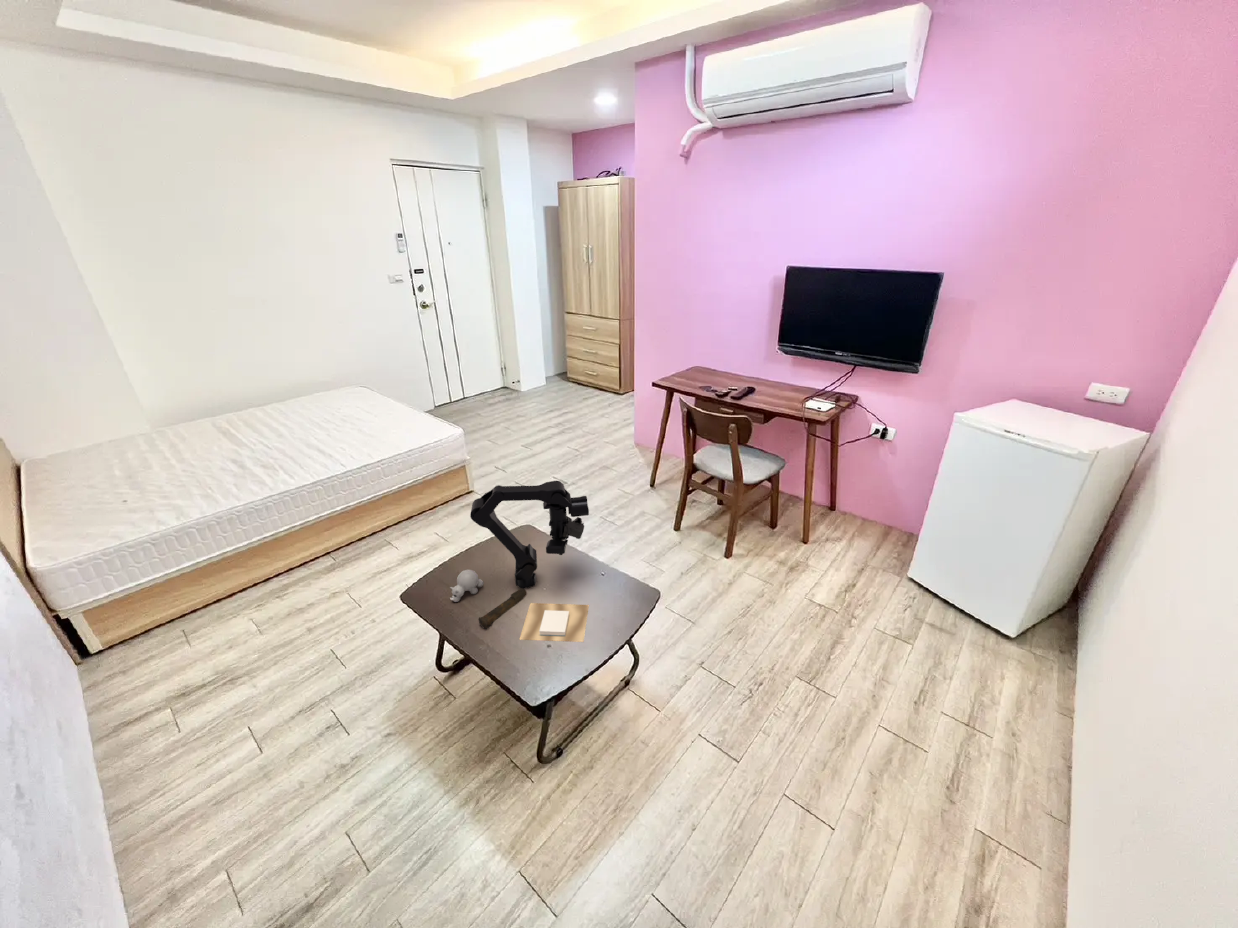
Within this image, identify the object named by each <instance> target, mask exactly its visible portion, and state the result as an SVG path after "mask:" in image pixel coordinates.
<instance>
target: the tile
mask: <svg viewBox="0 0 1238 928" xmlns="http://www.w3.org/2000/svg"><path fill="white" fill-rule="evenodd" d="M568 619H569V611H551V610H545V611H544V615H543V619H542V623H541V627H540V630H539V633H540V635H543V636H565V635H566V630H567V624H568Z"/></svg>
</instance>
